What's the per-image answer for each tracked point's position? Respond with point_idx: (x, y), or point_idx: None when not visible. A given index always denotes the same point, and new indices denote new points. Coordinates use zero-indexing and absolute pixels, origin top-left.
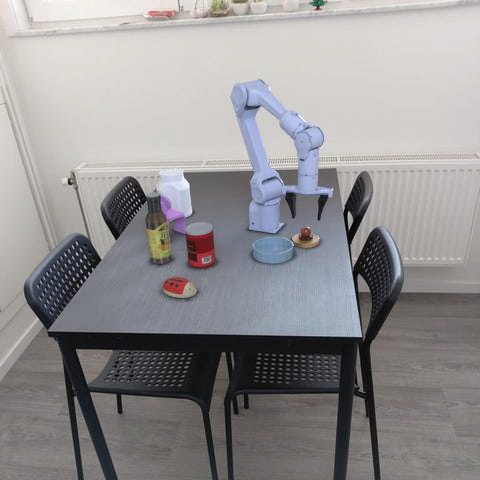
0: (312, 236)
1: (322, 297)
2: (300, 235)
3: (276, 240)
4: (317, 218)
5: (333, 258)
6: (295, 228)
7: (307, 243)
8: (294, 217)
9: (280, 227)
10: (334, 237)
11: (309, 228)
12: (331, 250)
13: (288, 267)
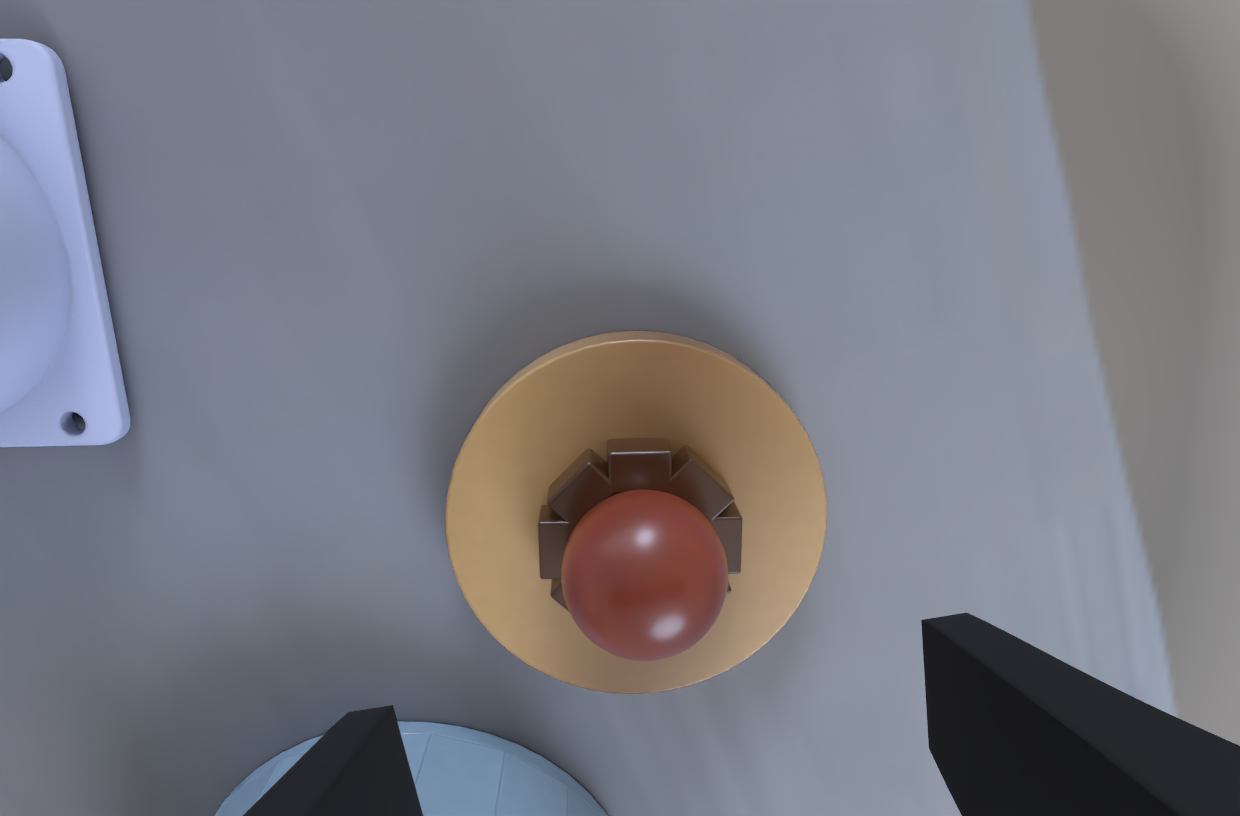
0: (740, 532)
1: None
2: None
3: None
4: (954, 796)
5: None
6: (309, 117)
7: (715, 658)
8: (416, 813)
9: (87, 224)
10: (968, 225)
11: (706, 588)
12: (1002, 603)
13: None
